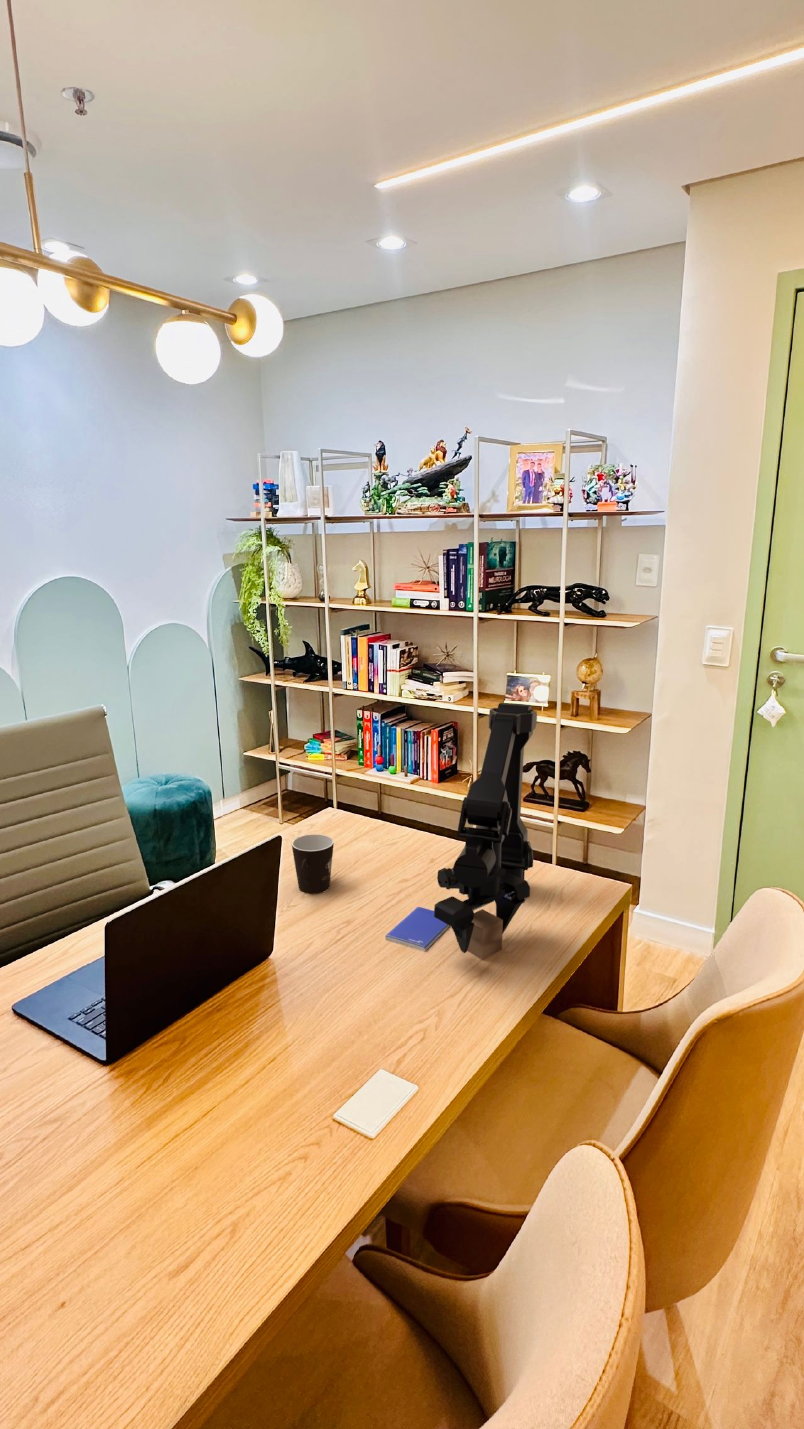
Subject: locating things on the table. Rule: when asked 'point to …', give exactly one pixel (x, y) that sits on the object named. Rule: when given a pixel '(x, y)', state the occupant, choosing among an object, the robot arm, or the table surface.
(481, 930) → the walnut block
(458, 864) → the robot arm
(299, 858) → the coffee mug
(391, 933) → the hard drive
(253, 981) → the table surface
